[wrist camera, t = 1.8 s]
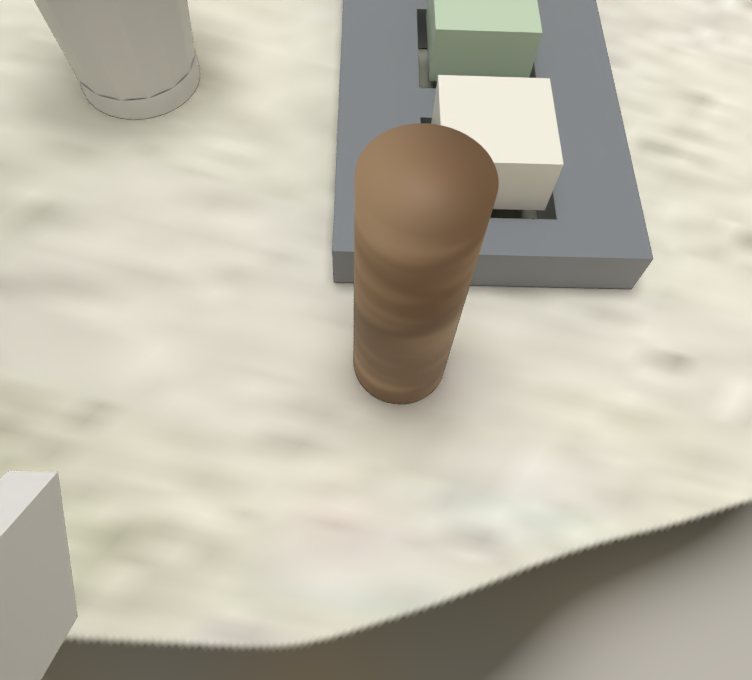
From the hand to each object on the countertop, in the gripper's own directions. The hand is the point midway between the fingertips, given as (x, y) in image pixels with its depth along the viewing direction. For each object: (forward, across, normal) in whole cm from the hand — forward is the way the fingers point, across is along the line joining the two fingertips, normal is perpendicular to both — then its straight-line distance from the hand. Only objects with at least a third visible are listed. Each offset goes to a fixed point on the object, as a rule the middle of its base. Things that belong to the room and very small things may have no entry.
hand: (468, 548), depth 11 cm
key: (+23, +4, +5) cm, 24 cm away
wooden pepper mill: (+18, 0, -3) cm, 18 cm away
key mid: (+28, +4, +11) cm, 30 cm away
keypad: (+30, +4, +9) cm, 32 cm away
